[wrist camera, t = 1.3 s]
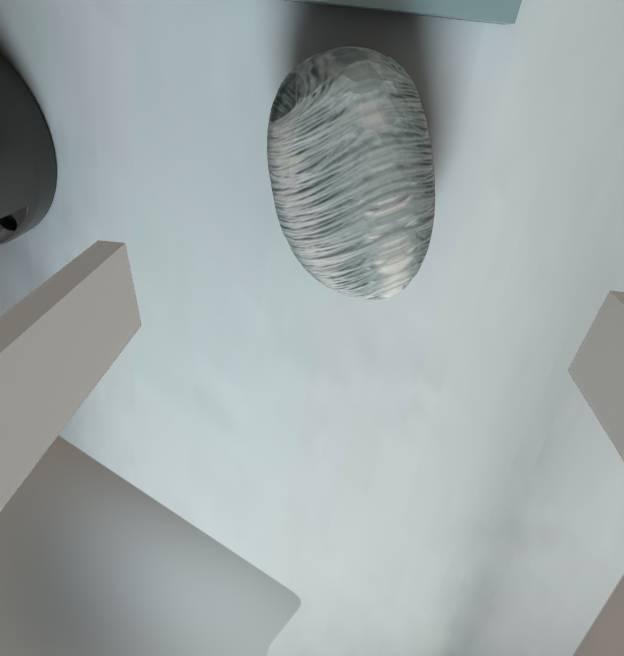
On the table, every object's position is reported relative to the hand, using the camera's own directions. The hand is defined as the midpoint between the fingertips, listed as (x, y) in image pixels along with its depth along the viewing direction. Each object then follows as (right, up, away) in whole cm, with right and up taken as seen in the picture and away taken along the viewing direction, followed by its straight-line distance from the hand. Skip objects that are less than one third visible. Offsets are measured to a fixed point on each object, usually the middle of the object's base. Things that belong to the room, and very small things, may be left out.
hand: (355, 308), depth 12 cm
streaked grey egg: (+2, +10, +16) cm, 19 cm away
